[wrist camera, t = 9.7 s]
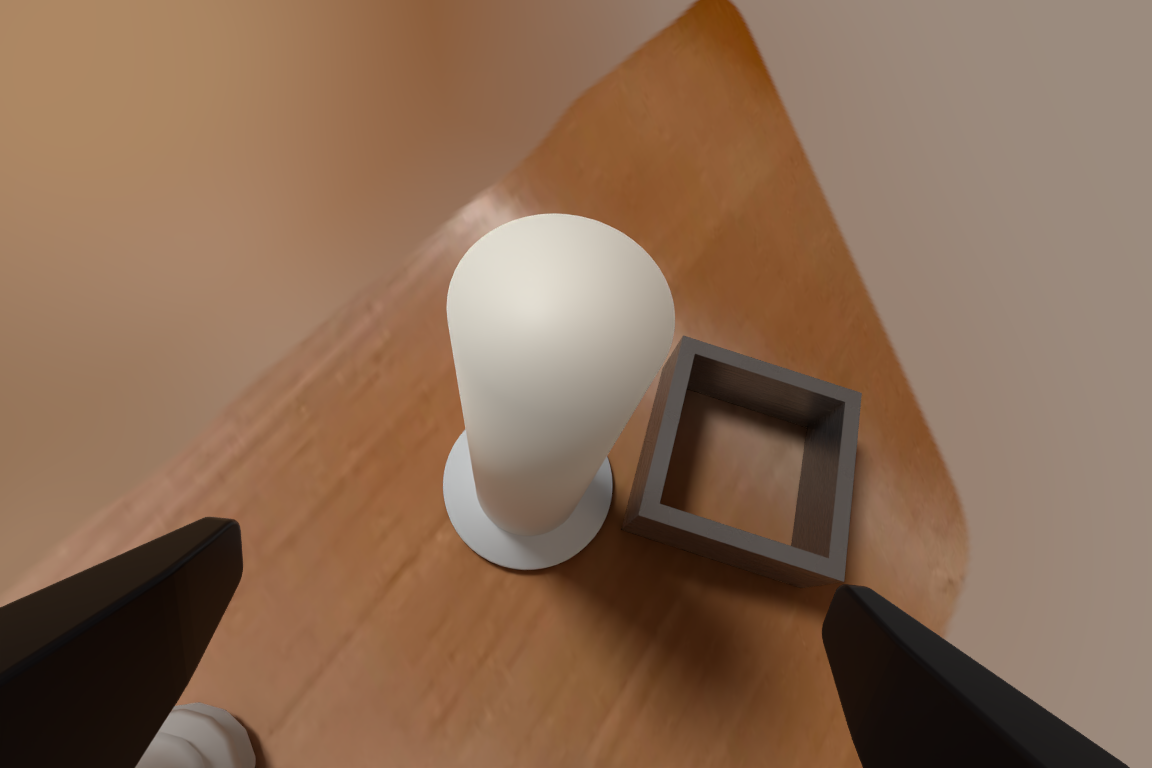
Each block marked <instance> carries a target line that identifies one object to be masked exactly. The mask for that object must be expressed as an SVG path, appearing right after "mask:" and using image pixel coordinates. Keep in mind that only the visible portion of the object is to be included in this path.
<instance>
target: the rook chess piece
mask: <svg viewBox="0 0 1152 768" xmlns="http://www.w3.org/2000/svg"><path fill="white" fill-rule="evenodd" d="M255 762H256V757H255V754H254V751H253V748H252V745H251V742H250V740H249V737H248V734H247V731H246V729H245V728H244V727H243V726H242V725H241V724H240V723H239V722H238V721H237V720H236V719H235V718H234V717H233V716H232V715H231V714H230V713H229V712H228V711H226V710H224V709H220V708H217V707H213V706H210V705H206V704H203V703H192V704H186V705H179V706H174V708H173V709H172V711H171V712H170V714H169V715H168V717H167V719H166V720H165V722H164V723H163V725H162V726H161V728H160V730H159V731H158V733H157V734H156V736H155V737H154V739H153V741H152V742H151V744H150V745H149V747H148V748H147V750H146V752H145V753H144V755H143V756H142V758H141V759H140V761H139V763H138V764H137V766H136V767H135V768H255Z"/></svg>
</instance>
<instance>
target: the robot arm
mask: <svg viewBox="0 0 1152 768" xmlns="http://www.w3.org/2000/svg"><path fill="white" fill-rule="evenodd" d="M242 572H243V556H242V542H241V530H240V525H239V523H238V522H237V521H236V520H234V519H227V518H217V517H205V518H202V519H200V520H198V521H195V522H193V523H191V524H189V525H186V526H184V527H182V528H179V529H177V530H175V531H173V532H170V533H168V534H166V535H164V536H161V537H159V538H157V539H155V540H152V541H150V542H148V543H145V544H143V545H141V546H139V547H136V548H134V549H132V550H130V551H127V552H125V553H123V554H121V555H118V556H116V557H114V558H112V559H109V560H107V561H105V562H102V563H100V564H98V565H96V566H93V567H91V568H89V569H87V570H84V571H82V572H80V573H77V574H75V575H73V576H71V577H68V578H66V579H64V580H62V581H59V582H57V583H55V584H53V585H50V586H48V587H46V588H43V589H41V590H39V591H37V592H34V593H32V594H30V595H28V596H25V597H23V598H21V599H18V600H16V601H14V602H12V603H9V604H7V605H5V606H3V607H0V768H135V767H136V766H137V764H138V763H139V761H140V759H141V758H142V756H143V755H144V753H145V752H146V750H147V748H148V747H149V745H150V744H151V742H152V741H153V739H154V737H155V736H156V734H157V733H158V731H159V730H160V728H161V726H162V725H163V723H164V722H165V720H166V719H167V717H168V715H169V714H170V712H171V711H172V709H173V708H174V706H175V704H176V703H177V701H178V700H179V698H180V696H181V695H182V693H183V691H184V690H185V688H186V686H187V685H188V683H189V681H190V679H191V677H192V676H193V674H194V672H195V670H196V668H197V666H198V664H199V662H200V660H201V658H202V656H203V654H204V652H205V650H206V648H207V646H208V644H209V642H210V640H211V638H212V636H213V634H214V632H215V630H216V628H217V627H218V625H219V623H220V621H221V619H222V617H223V615H224V613H225V611H226V609H227V607H228V605H229V603H230V601H231V599H232V597H233V595H234V593H235V591H236V589H237V587H238V585H239V582H240V580H241V577H242ZM822 639H823V643H824V647H825V650H826V654H827V657H828V660H829V664H830V667H831V671H832V674H833V677H834V681H835V684H836V688H837V691H838V694H839V698H840V701H841V705H842V708H843V711H844V715H845V718H846V722H847V725H848V728H849V731H850V734H851V737H852V740H853V743H854V745H855V748H856V751H857V753H858V756H859V759H860V761H861V764H862V766H863V768H1129V767H1128V766H1127V765H1126V764H1124V763H1123V762H1122V761H1120V760H1119V759H1117V758H1115V757H1114V756H1113V755H1111V754H1110V753H1108V752H1107V751H1105V750H1104V749H1103V748H1101V747H1100V746H1098V745H1097V744H1095V743H1094V742H1092V741H1091V740H1089V739H1088V738H1087V737H1085V736H1084V735H1082V734H1081V733H1079V732H1078V731H1076V730H1075V729H1074V728H1072V727H1071V726H1069V725H1068V724H1066V723H1065V722H1063V721H1062V720H1060V719H1059V718H1058V717H1056V716H1055V715H1053V714H1052V713H1050V712H1049V711H1047V710H1046V709H1044V708H1043V707H1042V706H1040V705H1039V704H1037V703H1036V702H1034V701H1033V700H1031V699H1030V698H1028V697H1027V696H1026V695H1024V694H1023V693H1021V692H1020V691H1018V690H1017V689H1015V688H1014V687H1013V686H1011V685H1010V684H1008V683H1007V682H1005V681H1004V680H1002V679H1001V678H1000V677H998V676H996V675H995V674H994V673H992V672H991V671H989V670H988V669H986V668H985V667H984V666H982V665H981V664H979V663H978V662H976V661H975V660H973V659H972V658H971V657H969V656H968V655H966V654H965V653H963V652H962V651H960V650H959V649H957V648H956V647H955V646H953V645H952V644H950V643H949V642H947V641H946V640H944V639H943V638H942V637H940V636H939V635H937V634H936V633H934V632H933V631H931V630H930V629H928V628H927V627H926V626H924V625H923V624H921V623H920V622H918V621H917V620H915V619H914V618H913V617H911V616H910V615H908V614H907V613H905V612H904V611H902V610H901V609H899V608H898V607H897V606H895V605H894V604H892V603H891V602H889V601H888V600H886V599H885V598H883V597H882V596H881V595H879V594H878V593H876V592H875V591H873V590H872V589H870V588H868V587H865V586H856V585H847V584H844V585H841V586H839V587H838V588H837V590H836V592H835V594H834V597H833V599H832V602H831V604H830V607H829V610H828V612H827V615H826V617H825V620H824V622H823V627H822Z"/></svg>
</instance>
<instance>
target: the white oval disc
mask: <svg viewBox="0 0 1152 768" xmlns="http://www.w3.org/2000/svg"><path fill="white" fill-rule="evenodd" d="M443 492H444V500H445V505H446V509H447V512H448V515H449V517H450V520H451V522H452V524H453V526H454V528H455V530H456V531H457V533H458V534H459V536H460V537H461V538H462V540H463V541H464V542H465V543H466V544H467V545H468V546H469V547H470V548H471V549H472V550H473V551H475V552H476V553H477V554H478V555H480V556H481V557H483V558H485V559H486V560H488V561H490V562H492V563H495V564H497V565H500V566H503V567H507V568H511V569H518V570H537V569H543V568H548V567H551V566H554V565H557V564H560V563H562V562H564V561H566V560H568V559H570V558H571V557H573V556H574V555H576V554H577V553H579V552H580V551H581V550H582V549H583V548H584V547H586V546H587V545H588V543H589V542H590V541H591V540H592V539H593V538H594V537H595V535H596V534H597V532H598V531H599V530H600V528H601V526H602V524H603V522H604V520H605V518H606V516H607V513H608V510H609V507H610V502H611V498H612V473H611V468H610V464H609V461H608V458H607V457H606V458H605V460H604V462H603V463H602V465H601V467H600V468H599V470H598V472H597V473H596V475H595V477H594V478H593V480H592V481H591V483H590V485H589V486H588V488H587V490H586V491H585V493H584V495H583V496H582V498H581V500H580V501H579V503H578V505H577V506H576V508H575V509H574V511H573V513H572V514H571V515H570V517H569V518H568V519H567V520H566V521H565V522H564V523H563V524H561V525H560V526H559V527H557V528H556V529H554V530H552V531H550V532H547V533H544V534H541V535H535V536H521V535H516V534H512V533H509V532H507V531H505V530H503V529H501V528H499V527H498V526H497V525H495V524H494V523H493V522H492V521H491V520H490V519H489V518H488V517H487V516H486V514H485V513H484V512H483V510H482V508H481V506H480V504H479V501H478V498H477V494H476V488H475V482H474V476H473V470H472V464H471V458H470V452H469V446H468V440H467V434H466V429H465V431H464V432H463V433H462V434H461V435H460V437H459V438H458V440H457V441H456V443H455V444H454V446H453V448H452V450H451V452H450V454H449V457H448V460H447V463H446V466H445V472H444V479H443Z"/></svg>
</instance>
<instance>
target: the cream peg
mask: <svg viewBox="0 0 1152 768" xmlns="http://www.w3.org/2000/svg"><path fill="white" fill-rule="evenodd" d="M447 318H448V326H449V332H450V338H451V344H452V350H453V356H454V362H455V368H456V374H457V380H458V386H459V392H460V398H461V404H462V410H463V416H464V422H465V428H466V434H467V440H468V446H469V452H470V458H471V464H472V470H473V476H474V482H475V488H476V494H477V498H478V501H479V504H480V506H481V508H482V510H483V512H484V513H485V514H486V516H487V517H488V518H489V519H490V520H491V521H492V522H493V523H494V524H495V525H497V526H498V527H499V528H501V529H503V530H505V531H507V532H509V533H512V534H516V535H521V536H535V535H541V534H544V533H547V532H550V531H552V530H554V529H556V528H557V527H559V526H560V525H561V524H563V523H564V522H565V521H566V520H567V519H568V518H569V517H570V515H571V514H572V513H573V511H574V509H575V508H576V506H577V505H578V503H579V501H580V500H581V498H582V496H583V495H584V493H585V491H586V490H587V488H588V486H589V485H590V483H591V481H592V480H593V478H594V477H595V475H596V473H597V472H598V470H599V468H600V467H601V465H602V463H603V462H604V460H605V458H606V457H607V455H608V453H609V452H610V450H611V449H612V447H613V445H614V444H615V442H616V440H617V439H618V437H619V435H620V434H621V432H622V430H623V429H624V427H625V425H626V424H627V422H628V421H629V419H630V417H631V416H632V414H633V412H634V411H635V409H636V407H637V406H638V404H639V402H640V401H641V399H642V398H643V396H644V394H645V393H646V391H647V389H648V388H649V386H650V384H651V383H652V381H653V379H654V378H655V376H656V374H657V373H658V371H659V370H660V368H661V366H662V364H663V362H664V361H665V359H666V357H667V355H668V352H669V350H670V347H671V344H672V340H673V335H674V330H675V312H674V303H673V299H672V295H671V292H670V289H669V287H668V284H667V282H666V279H665V277H664V276H663V274H662V272H661V270H660V269H659V267H658V266H657V264H656V263H655V262H654V260H653V259H652V258H651V257H650V256H649V255H648V253H647V252H646V251H645V250H644V249H643V248H642V247H641V246H639V245H638V244H637V243H636V242H635V241H633V240H632V239H631V238H629V237H628V236H626V235H625V234H623V233H622V232H620V231H618V230H616V229H614V228H612V227H610V226H608V225H606V224H604V223H601V222H598V221H596V220H592V219H589V218H585V217H581V216H575V215H569V214H539V215H533V216H527V217H523V218H520V219H516V220H513V221H511V222H508V223H506V224H503V225H501V226H499V227H497V228H496V229H494V230H492V231H490V232H489V233H487V234H486V235H485V236H483V237H482V238H481V239H479V240H478V241H477V242H476V243H475V244H474V245H473V246H472V247H471V248H470V249H469V250H468V251H467V253H466V254H465V255H464V257H463V258H462V259H461V261H460V263H459V264H458V266H457V268H456V270H455V272H454V274H453V277H452V279H451V282H450V286H449V291H448V295H447Z"/></svg>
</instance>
